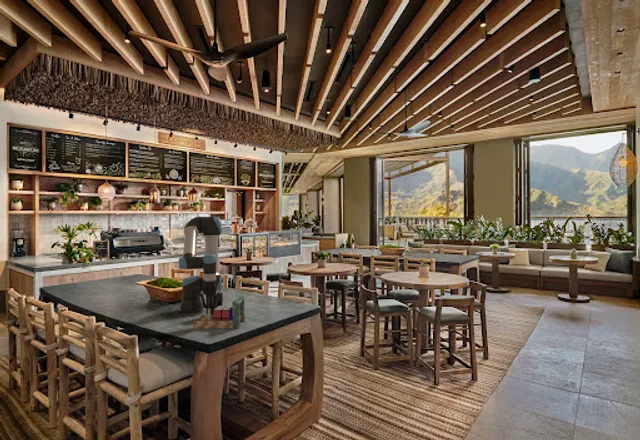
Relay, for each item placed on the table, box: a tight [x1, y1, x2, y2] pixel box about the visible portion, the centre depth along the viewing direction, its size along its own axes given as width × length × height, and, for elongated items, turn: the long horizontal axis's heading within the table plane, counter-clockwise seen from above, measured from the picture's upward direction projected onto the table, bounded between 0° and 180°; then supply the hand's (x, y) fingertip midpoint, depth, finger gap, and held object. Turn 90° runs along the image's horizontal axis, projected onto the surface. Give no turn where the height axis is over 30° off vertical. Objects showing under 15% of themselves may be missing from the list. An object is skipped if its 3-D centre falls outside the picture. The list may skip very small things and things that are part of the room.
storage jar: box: [206, 292, 224, 315], centre depth 246 cm, size 10×10×15 cm
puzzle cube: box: [213, 305, 233, 321], centre depth 229 cm, size 10×10×10 cm
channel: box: [192, 296, 245, 329], centre depth 229 cm, size 27×15×15 cm, turn 90°
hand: (209, 319), depth 229 cm, fingers closed
